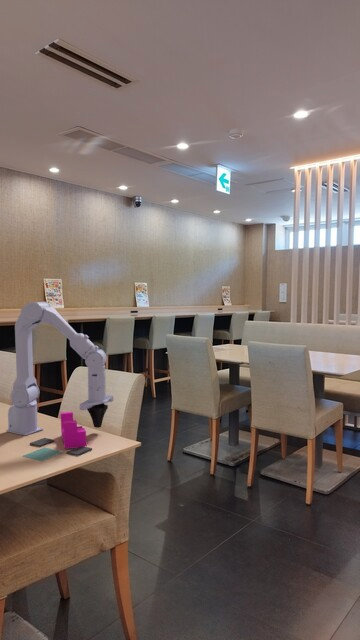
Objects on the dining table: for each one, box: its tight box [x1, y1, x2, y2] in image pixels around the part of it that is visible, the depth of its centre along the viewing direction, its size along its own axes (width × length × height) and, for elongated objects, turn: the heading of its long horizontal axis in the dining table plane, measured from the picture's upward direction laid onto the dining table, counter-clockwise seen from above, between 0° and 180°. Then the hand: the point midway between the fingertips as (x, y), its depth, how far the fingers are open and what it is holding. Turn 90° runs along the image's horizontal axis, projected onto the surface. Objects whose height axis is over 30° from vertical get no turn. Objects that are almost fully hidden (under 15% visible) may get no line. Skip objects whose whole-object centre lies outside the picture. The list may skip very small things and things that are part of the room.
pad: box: [22, 446, 64, 462], centre depth 133 cm, size 8×8×1 cm
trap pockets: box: [29, 437, 93, 457], centre depth 139 cm, size 20×6×1 cm, turn 59°
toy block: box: [60, 411, 87, 450], centre depth 144 cm, size 15×6×8 cm, turn 18°
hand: (97, 426), depth 153 cm, fingers closed
